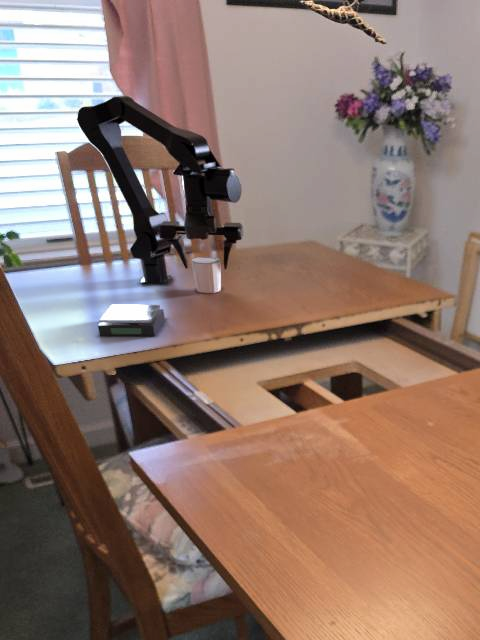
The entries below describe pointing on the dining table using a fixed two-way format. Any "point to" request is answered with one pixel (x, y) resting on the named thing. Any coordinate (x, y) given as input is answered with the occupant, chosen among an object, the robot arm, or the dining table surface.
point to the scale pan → (130, 314)
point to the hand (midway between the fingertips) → (206, 268)
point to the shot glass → (207, 274)
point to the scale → (133, 327)
